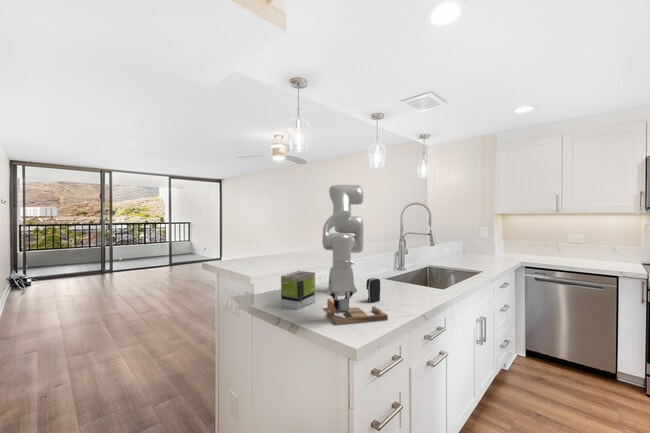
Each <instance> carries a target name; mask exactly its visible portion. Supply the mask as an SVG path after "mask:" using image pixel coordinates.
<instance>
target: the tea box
mask: <svg viewBox="0 0 650 433" xmlns="http://www.w3.org/2000/svg"><path fill="white" fill-rule="evenodd" d="M280 290H281V294H280V295H281V296H280V302H281V303H280V304H281V307H282V306H283V307H284V308H287V307H288V308H287V309H293V310H300V309H302V308H304V307H306V306H308V305H310V304H312V303H315V302H316V273H315V272H312V271H303V270H296V271H293V272H290V273H287V274H284V275H281V276H280Z"/></svg>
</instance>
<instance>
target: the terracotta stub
mask: <svg viewBox="0 0 650 433" xmlns="http://www.w3.org/2000/svg"><path fill="white" fill-rule="evenodd" d="M326 300H327V302H326V303H327V304H326V305H327V310H331V311H332V312H333V313H334V314H337V313H336V310H335V307H334V298H333V297H331V298H327V299H326Z"/></svg>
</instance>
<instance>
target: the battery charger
mask: <svg viewBox="0 0 650 433" xmlns="http://www.w3.org/2000/svg"><path fill="white" fill-rule="evenodd" d="M365 287H366V288H365V289H366V290H367V292H368V293H367V294H368V296H367V302H369V303H375V302H379V301H381V279H379V278H377V277H371V278H369V279H368V278H367V279H366V286H365Z"/></svg>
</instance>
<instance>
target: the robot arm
mask: <svg viewBox="0 0 650 433" xmlns="http://www.w3.org/2000/svg"><path fill="white" fill-rule="evenodd" d="M328 193H329V198H330V200H331V203H332V205H333V206H332V215H330V217H329V218H327V219H326V221H325V223H324V225H323V227H322V242H321V243H322V244H321V245H322V247H323V249H325V250H327V251H332V267H330V268H329V274H328V275H329V276H328V285H327V286H328V287H327V288H326V290H325V294H327V295H329V296H330V297H331V298H334V307H335V308H336V309H337V310H338V302H339V301H338V300H339V298H338V297H339V296H345V297H344V298H343V299H348V302H349V303H350V299H351V297H352V296H353V295H354V294H356V293H357V292H358V290H357V288H356V286H355V278H354V271H353V268H352V265H354V264H355V263H354V261H353V260H351V259H352V257H351V256H352V255H351V254H352V253H353V254H354V253H357V254H358V253H362V251H363V249H364V221H363V218H362V217H361V216H358V215H352V205H354V206H355V205H356V206H357V205H362V204H363V202H364V191H363V188H362V186H361V185H360V184H334V185H331V186H330V187H329V189H328ZM332 228H334V231H335V232H334V233H333V232H331V233H330V231H331V229H332ZM353 234H354V235H353Z"/></svg>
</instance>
